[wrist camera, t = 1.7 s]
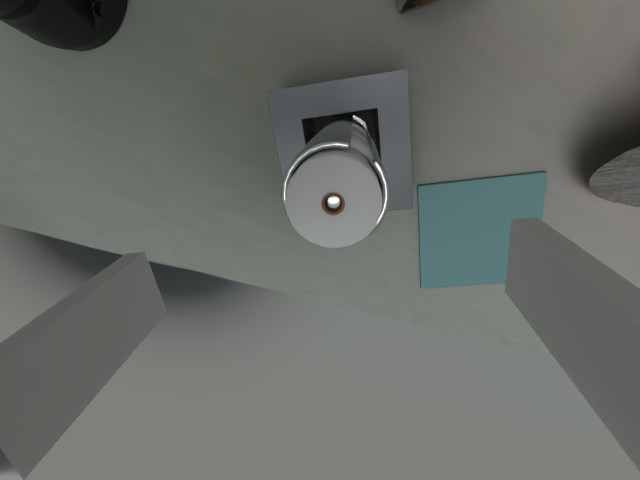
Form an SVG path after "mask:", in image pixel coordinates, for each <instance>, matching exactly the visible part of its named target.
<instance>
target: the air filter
mask: <svg viewBox="0 0 640 480" xmlns="http://www.w3.org/2000/svg"><path fill="white" fill-rule="evenodd" d="M281 196H282V202H283V208H284V210H285V212H286V215H287V217H288V219H289V221H290V222H291V224H292V226H293V227H294V228H295V229H296V231H297V232H298V233H299V234H300V235H301V236H302V237H304V238H305V239H306V240H308V241H309V242H311V243H314V244H316V245H319V246H322V247H328V248H342V247H347V246H349V245H352V244H355V243H357V242H359V241H360V240H362V239H364V238H365V237H367V236H368V235H370V234H371V233H372V232H373V231H374V230H375V229H376V228H377V227H378V226H379V225H380V223H381V222H382V220H383V218H384V216H385V214H386V212H387V209H388V205H389V200H390V188H389V181H388V179H387V176H386V173H385V170H384V167H383V164H382V162H381V159H380V156H379V154H378V151H377V148H376V146H375V143H374V140H373V138H372V135H371V132H370V130H369V128H368V126H367V125H366V123H365V122H364V121H363V120H361V119H360V118H359V117H356V116H354V115H350V114H342V115H338V116H335V117H333V118H331V119H330V120H329V121H328V122H327V123H326V124H325V125H324V126H323V127H322V128H321V129H320V130H319V131H318V133H317V134H316V135H315V136H314V137H313V138H312V139H311V140H310V141H309V142H308V144H307V145H306V146H305V147H304V148H303V149H302V150H301V151H300V152H299V154H298V155H297V156H296V157H295V158H294V160H293V161H292V162H291V164H290V165H289V167H288V168H287V170H286V173H285V176H284V178H283V181H282V192H281Z"/></svg>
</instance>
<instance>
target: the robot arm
mask: <svg viewBox="0 0 640 480" xmlns="http://www.w3.org/2000/svg"><path fill="white" fill-rule="evenodd" d="M126 4H127V0H0V20H1V21H3V22H5V23H6V24H8V25H10V26H12V27H14V28H15V29H17V30H19V31H21V32H23V33H25V34H26V35H28V36H30V37H31V38H33V39H35V40H37V41H39V42H41V43H43V44H46V45H49V46H52V47H56V48H62V49H68V50H76V51H83V50H90V49H93V48H96V47H98V46H101V45H102V44H104V43H105V42H107V41H108V40H109V39H110V38H111V37H112V36H113V35H114V34H115V32H116V31H117V29H118V28H119V26H120V24H121V22H122V19H123V16H124V13H125V9H126ZM505 292H506V293H507V295H508V296H509V297H510V299H511V300H512V301H513V303H514V304H515V305H516V307H517V308H518V309H519V311H520V312H521V313H522V315H523V316H524V317H525V319H526V320H527V321H528V323H529V324H530V325H531V327H532V328H533V330H534V331H535V332H536V334H537V335H538V336H539V338H540V339H541V340H542V342H543V343H544V344H545V346H546V347H547V348H548V350H549V351H550V352H551V354H552V355H553V356H554V358H555V359H556V360H557V362H558V363H559V364H560V366H561V367H562V368H563V370H564V371H565V372H566V374H567V375H568V376H569V378H570V379H571V380H572V382H573V383H574V384H575V386H576V387H577V388H578V390H579V391H580V392H581V394H582V395H583V396H584V398H585V399H586V400H587V402H588V403H589V404H590V406H591V407H592V408H593V410H594V411H595V412H596V414H597V415H598V416H599V418H600V419H601V420H602V422H603V423H604V424H605V426H606V427H607V428H608V430H609V431H610V432H611V434H612V435H613V436H614V438H615V439H616V441H617V442H618V443H619V444H620V446H621V447H622V448H623V450H624V451H625V452H626V454H627V455H628V457H629V458H630V459H631V461H632V462H633V463H634V465H635V466H636V467H637V469H638V470H639V471H640V289H639V288H638V287H636V286H635V285H633V284H632V283H630V282H629V281H628V280H626V279H625V278H623V277H622V276H620V275H619V274H617V273H616V272H615V271H613V270H612V269H610V268H609V267H607V266H606V265H605V264H603V263H602V262H600V261H599V260H597V259H596V258H594V257H593V256H592V255H590V254H589V253H587V252H586V251H584V250H583V249H582V248H580V247H579V246H577V245H576V244H574V243H573V242H571V241H570V240H569V239H567V238H566V237H564V236H563V235H561V234H560V233H559V232H557V231H556V230H554V229H553V228H551V227H550V226H548V225H547V224H546V223H544V222H543V221H541V220H540V219H538V218H537V217H534V218H523V219H511V230H510V242H509V253H508V264H507V275H506V287H505ZM166 312H167V311H166V308H165V306H164V303H163V300H162V297H161V295H160V292H159V289H158V287H157V284H156V281H155V279H154V276H153V273H152V271H151V268H150V265H149V262H148V260H147V257H146V254H145V252H139V253H128V254H125V255H124V256H122V257H121V258H120V259H118V260H117V261H115V262H114V263H113V264H111V265H110V266H108V267H107V268H105V269H104V270H103V271H101V272H100V273H99V274H97V275H96V276H94V277H93V278H92V279H90V280H89V281H88V282H86V283H84V284H83V285H82V286H80V287H79V288H77V289H76V290H75V291H73V292H72V293H70V294H69V295H68V296H66V297H65V298H63V299H62V300H61V301H59V302H58V303H56V304H55V305H53V306H52V307H51V308H49V309H48V310H46V311H45V312H44V313H43V314H41V315H39V316H38V317H37V318H35V319H34V320H32V321H31V322H30V323H28V324H27V325H25V326H24V327H23V328H21V329H20V330H18V331H17V332H16V333H14V334H13V335H11V336H10V337H8V338H7V339H6V340H4V341H3V342H1V343H0V480H24V479H25V478H26V477H27V476H28V475H29V473H30V472H31V471H32V470H33V469H34V468H35V466H36V465H37V464H38V463H39V462H40V461H41V459H42V458H43V457H44V456H45V455H46V454H47V452H48V451H49V450H50V449H51V448H52V446H53V445H54V444H55V443H56V442H57V441H58V439H59V438H60V437H61V436H62V435H63V433H64V432H65V431H66V430H67V429H68V428H69V427H70V425H71V424H72V423H73V422H74V421H75V419H76V418H77V417H78V416H79V415H80V413H81V412H82V411H83V410H84V409H85V408H86V407H87V405H88V404H89V403H90V402H91V401H92V400H93V398H94V397H95V396H96V395H97V394H98V392H99V391H100V390H101V389H102V388H103V386H104V385H105V384H106V383H107V382H108V381H109V380H110V378H111V377H112V376H113V375H114V374H115V373H116V371H117V370H118V369H119V368H120V367H121V365H122V364H123V363H124V362H125V361H126V360H127V358H128V357H129V356H130V355H131V354H132V353H133V351H134V350H135V349H136V348H137V346H138V345H139V344H140V343H141V342H142V341H143V340H144V338H145V337H146V336H147V335H148V334H149V332H150V331H151V330H152V329H153V328H154V327H155V326H156V324H157V323H158V322H159V321H160V320H161V318H162V317H163V316H164V315H165V314H166Z"/></svg>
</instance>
